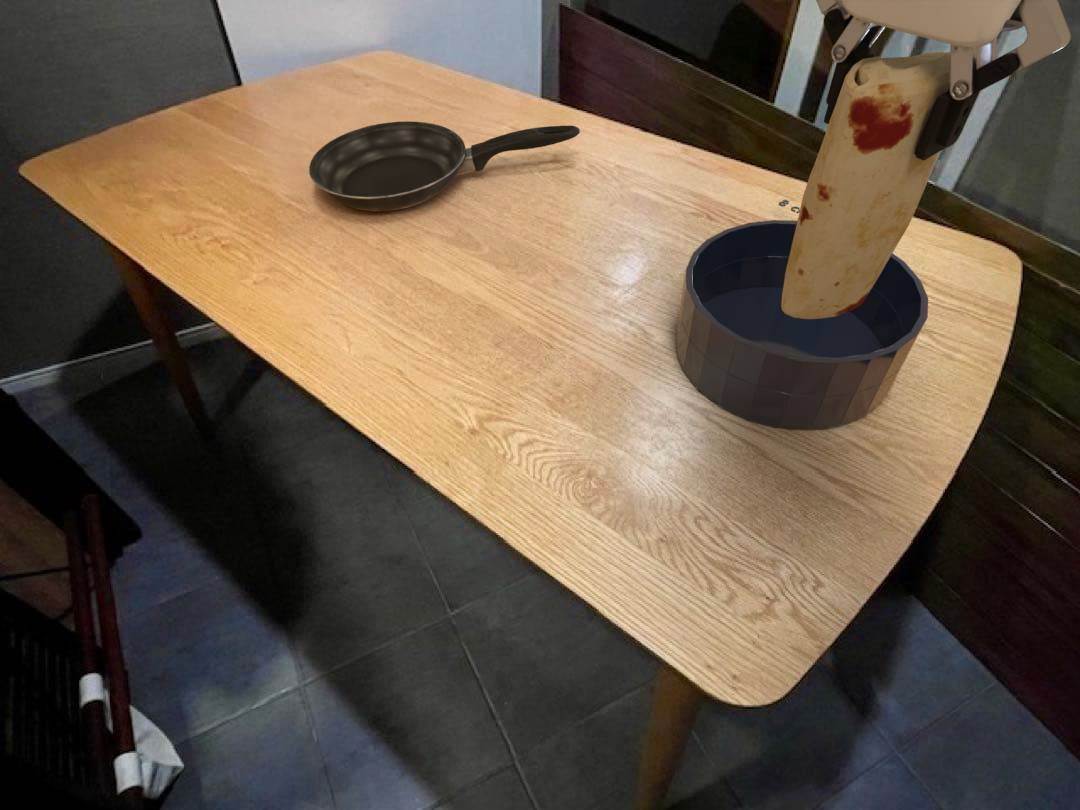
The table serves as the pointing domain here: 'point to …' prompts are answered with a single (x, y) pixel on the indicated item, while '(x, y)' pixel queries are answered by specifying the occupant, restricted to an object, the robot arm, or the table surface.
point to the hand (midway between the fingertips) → (884, 132)
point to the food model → (863, 183)
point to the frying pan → (410, 161)
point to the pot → (789, 334)
